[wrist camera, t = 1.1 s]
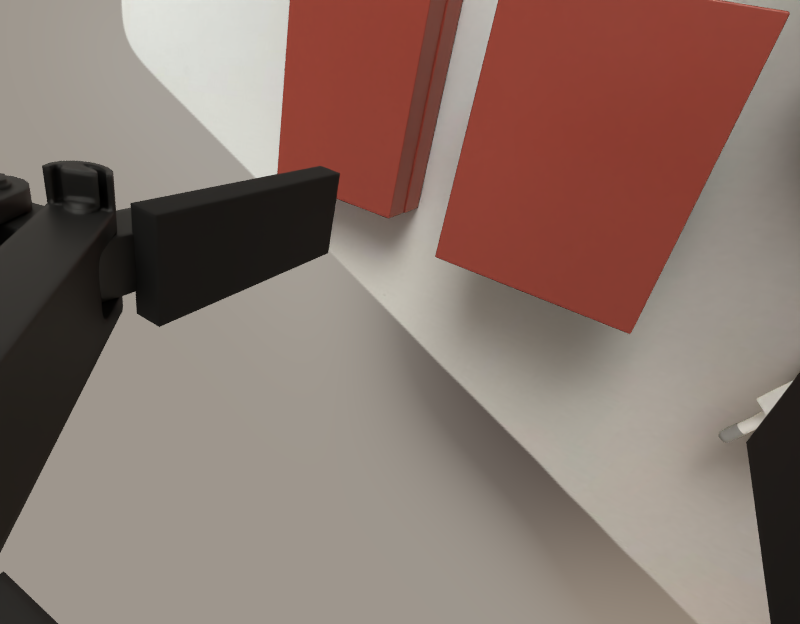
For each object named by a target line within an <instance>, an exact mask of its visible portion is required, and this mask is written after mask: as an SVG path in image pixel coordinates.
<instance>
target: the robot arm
mask: <svg viewBox="0 0 800 624" xmlns="http://www.w3.org/2000/svg"><path fill="white" fill-rule="evenodd" d="M42 168H43V175H44V182H45V189H46V196H47V202H48V203H47V204H46V205H45V206H42V205H38V204H35V203H32V201H31V194H30V188H29V183H28V182H26V181H25V180H23V179H20V178H17V177H13V176H6V175H5V174H1V173H0V552H1V550H2V548H3V546H4V544H5V542H6V540H7V538H8V536H9V534H10V532H11V530H12V528H13V526H14V524H15V522H16V520H17V518H18V517H19V515H20V512H21V511H22V508H23V507H24V504H25V503H26V501H27V499H28V497H29V495H30V493H31V491H32V489H33V487H34V485H35V483H36V481H37V479H38V477H39V475H40V473H41V471H42V469H43V467H44V465H45V463H46V461H47V459H48V457H49V455H50V453H51V451H52V449H53V447H54V445H55V443H56V441H57V439H58V437H59V435H60V433H61V431H62V429H63V427H64V425H65V423H66V421H67V419H68V417H69V415H70V413H71V411H72V409H73V407H74V406H75V404H76V402H77V400H78V397H79V396H80V394H81V392H82V390H83V388H84V386H85V384H86V382H87V380H88V378H89V376H90V374H91V372H92V370H93V368H94V366H95V364H96V362H97V360H98V358H99V356H100V354H101V352H102V350H103V348H104V346H105V344H106V342H107V340H108V338H109V336H110V334H111V332H112V330H113V328H114V326H115V324H116V322H117V320H118V318H119V316H120V314H121V313H122V309H123V301H122V296H123V295H126V294H129V293H132V292H135V291H136V306H137V314H139V315H140V316H142V317H144V318H145V319H147V320H149V321H150V322H152V323H154V324H156V325H157V326H159V327H160V326H162V325H165V324H167V323H169V322H171V321H174V320H176V319H178V318H181V317H183V316H185V315H187V314H190V313H192V312H194V311H197V310H199V309H201V308H203V307H206V306H208V305H210V304H213V303H215V302H217V301H219V300H221V299H224V298H226V297H229V296H231V295H233V294H235V293H238V292H240V291H242V290H244V289H247V288H249V287H251V286H254V285H256V284H258V283H261V282H263V281H265V280H267V279H270V278H272V277H274V276H276V275H279V274H281V273H283V272H286V271H288V270H290V269H292V268H295V267H297V266H299V265H302V264H304V263H306V262H308V261H311V260H313V259H315V258H318V257H320V256H322V255H325V254H327V253H328V250H329V243H330V237H331V230H332V224H333V217H334V211H335V204H336V198H337V191H338V184H339V178H340V173H338V172H336V171H333V170H330V169H328V168H325V167H323V166H316V167H311V168H306V169H301V170H296V171H291V172H286V173H281V174H276V175H271V176H266V177H261V178H256V179H251V180H246V181H241V182H236V183H231V184H226V185H220V186H216V187H210V188H206V189H200V190H195V191H191V192H185V193H180V194H175V195H170V196H165V197H160V198H155V199H150V200H145V201H140V202H134V203H131V208H128V209H122V210H118V211H116V205H115V192H114V178H113V171H112V170H111V169H109V168H108V167H105V166H103V165H100V164H96V163H90V162H83V161H58V162H52V163H48V164H45V165H43V166H42ZM746 443H747V450H748V458H749V465H750V473H751V480H752V487H753V495H754V502H755V510H756V517H757V525H758V532H759V539H760V547H761V554H762V562H763V569H764V576H765V584H766V591H767V599H768V606H769V613H770V621H771V624H800V373H799V374H798V375H797V376H796V378H795V379H794V380H793V382H792V383H791V384H790V386H789V387H788V388H787V390H786V391H785V392H784V393H783V395H782V396H781V397H780V399H779V400H778V401H777V403H776V404H775V405H774V407H773V408H772V409H771V411H770V412H769V413H768V414H767V416H766V417H765V418H764V420H763V421H762V422H761V424H760V425H759V426H758V428H757V429H756V430H755V432H754V433H753V434H752V435H751V437H750V438H749V439H748V441H747V442H746ZM0 624H58V623H57V622H56V621H55V620H54V619H53V618H52V617H51V616H50V615H49V614H47V613H46V612H45V611H44V610H43V609H42V608H41V607H40V606H39V605H38V604H37V603H36V602H35V601H34V600H33V599H32V598H31V597H30V596H29V595H28V594H27V593H25V591H24V590H22V589H21V588H20V587H19V586H18V585H17V584H16V583H15V582H14V581H13V580H12V579H11V578H10V577H9V576H8V575H7V574H6V573H5V572H2V573H1V574H0Z"/></svg>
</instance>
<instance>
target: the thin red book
mask: <svg viewBox="0 0 800 624" xmlns="http://www.w3.org/2000/svg"><path fill="white" fill-rule="evenodd" d="M789 14H790V12H788V11H782V10H776V9H770V8H764V7H758V6H752V5H746V4H740V3H734V2H728V1H721V0H498V4H497V8H496V12H495V16H494V21H493V25H492V29H491V33H490V37H489V41H488V45H487V49H486V53H485V57H484V61H483V65H482V69H481V73H480V77H479V81H478V85H477V89H476V93H475V97H474V101H473V106H472V110H471V114H470V118H469V122H468V126H467V130H466V134H465V138H464V142H463V146H462V150H461V154H460V158H459V162H458V166H457V170H456V174H455V178H454V182H453V187H452V191H451V195H450V199H449V203H448V207H447V211H446V215H445V219H444V223H443V227H442V231H441V235H440V239H439V243H438V247H437V251H436V255H435V257H437V258H439V259H442V260H444V261H447V262H449V263H452V264H454V265H457V266H459V267H462V268H465V269H467V270H470V271H472V272H475V273H477V274H480V275H482V276H485V277H487V278H490V279H492V280H495V281H497V282H500V283H502V284H505V285H507V286H510V287H512V288H515V289H518V290H520V291H523V292H525V293H528V294H530V295H533V296H535V297H538V298H540V299H543V300H545V301H548V302H550V303H553V304H555V305H558V306H560V307H563V308H566V309H568V310H571V311H573V312H576V313H578V314H581V315H583V316H586V317H588V318H591V319H593V320H596V321H598V322H601V323H603V324H606V325H608V326H611V327H613V328H616V329H619V330H621V331H624V332H626V333H629V334H630V333H631V332H632V330H633V328H634V326H635V324H636V322H637V320H638V318H639V316H640V314H641V312H642V310H643V308H644V306H645V304H646V302H647V300H648V298H649V296H650V294H651V292H652V290H653V288H654V286H655V284H656V282H657V280H658V278H659V276H660V274H661V272H662V270H663V268H664V266H665V264H666V262H667V260H668V258H669V256H670V254H671V252H672V250H673V248H674V246H675V244H676V242H677V240H678V238H679V236H680V234H681V232H682V230H683V228H684V226H685V224H686V222H687V220H688V218H689V216H690V214H691V212H692V210H693V208H694V206H695V204H696V202H697V200H698V198H699V195H700V193H701V191H702V189H703V187H704V185H705V183H706V181H707V179H708V177H709V175H710V173H711V171H712V169H713V167H714V165H715V163H716V161H717V159H718V157H719V155H720V153H721V151H722V149H723V147H724V145H725V143H726V141H727V139H728V137H729V135H730V133H731V131H732V129H733V127H734V125H735V123H736V121H737V119H738V117H739V115H740V113H741V111H742V109H743V107H744V105H745V103H746V101H747V99H748V97H749V95H750V93H751V91H752V89H753V87H754V85H755V83H756V81H757V79H758V77H759V75H760V73H761V71H762V69H763V67H764V65H765V63H766V61H767V59H768V57H769V55H770V53H771V51H772V49H773V47H774V45H775V43H776V41H777V39H778V37H779V35H780V33H781V31H782V29H783V27H784V25H785V23H786V21H787V19H788V17H789Z"/></svg>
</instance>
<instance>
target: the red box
mask: <svg viewBox="0 0 800 624" xmlns="http://www.w3.org/2000/svg"><path fill="white" fill-rule="evenodd" d="M462 2H463V0H290V6H289V20H288V34H287V48H286V61H285V75H284V89H283V103H282V117H281V131H280V145H279V159H278V173H277V174H281V173H286V172H291V171H296V170H301V169H306V168H311V167H316V166H323V167H325V168H328V169H330V170H333V171H336V172H338V173H340V178H339V184H338V191H337V198H336V199H339V200H341V201H344V202H347V203H349V204H352V205H355V206H357V207H360V208H363V209H365V210H368V211H370V212H373V213H376V214H378V215H381V216H384V217H386V218H391V217H394V216H396V215H399V214H401V213H406V212H408V211H411V210H413V209H416V208H418V204H419V200H420V195H421V190H422V186H423V181H424V177H425V172H426V167H427V163H428V158H429V154H430V149H431V144H432V140H433V135H434V131H435V126H436V121H437V117H438V112H439V107H440V103H441V98H442V94H443V89H444V84H445V80H446V75H447V71H448V66H449V61H450V57H451V52H452V48H453V43H454V38H455V34H456V29H457V25H458V20H459V15H460V11H461V6H462Z"/></svg>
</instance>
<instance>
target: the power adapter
mask: <svg viewBox="0 0 800 624" xmlns="http://www.w3.org/2000/svg"><path fill="white" fill-rule="evenodd" d="M792 382H793V380H792V381H790V382H788V383H786V384H784V385H782V386H780V387H778V388H776V389H774V390H772V391H770V392H768V393H766V394H764V395H762V396H760V397H758V398H757V401H758V403H759V404H760V406H761V408H762V409H763V411H762V412H760V413H758V414H756V415H755V416H753V417H751V418H749V419H746V420H744V421H742V422H740V423H736V424H734V425H732V426H730V427H728V428H726V429H724V430H722V431H720V432H719V438H720V439H721V440H722V441H723V442H725V443H729V442H731V441H733V440H735V439H738V438H740V437H742V436H744V435H746V434H747V433H749V432H752V431H754V430H756V429H757V428H758V426H759V425H760V424H761V422H762V421H763V420H764V418H765V417H766V416H767V414H768V413H769V412H770V411H771V409H772V408H773V407H774V405H775V404H776V403H777V401H778V400H779V399H780V397H781V396H782V395H783V393H784V392H785V391H786V390H787V388H788V387H789V386H790V384H791V383H792Z"/></svg>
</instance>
